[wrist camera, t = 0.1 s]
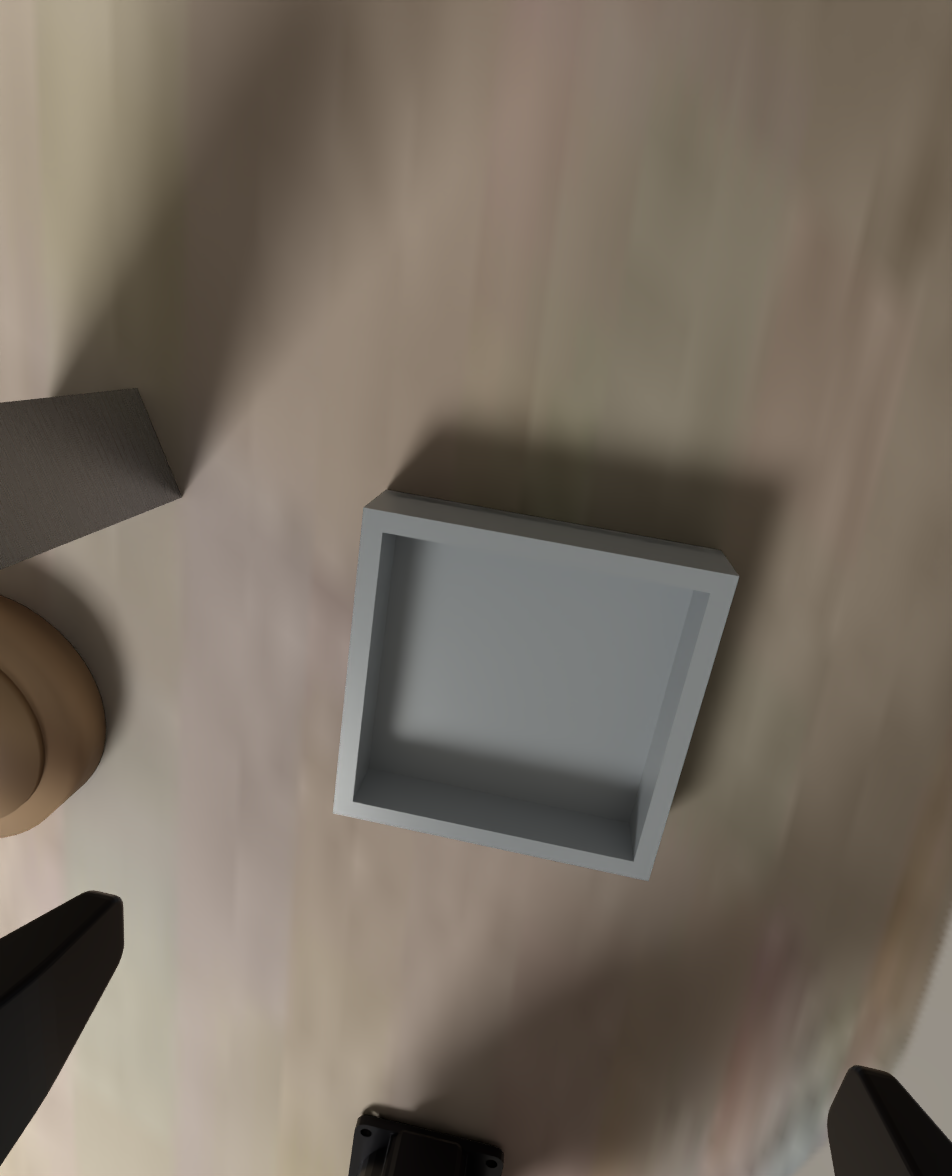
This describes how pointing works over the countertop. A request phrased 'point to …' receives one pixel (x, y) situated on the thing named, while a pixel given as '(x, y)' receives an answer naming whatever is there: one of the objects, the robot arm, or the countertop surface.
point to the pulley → (43, 719)
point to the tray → (524, 679)
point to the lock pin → (76, 469)
